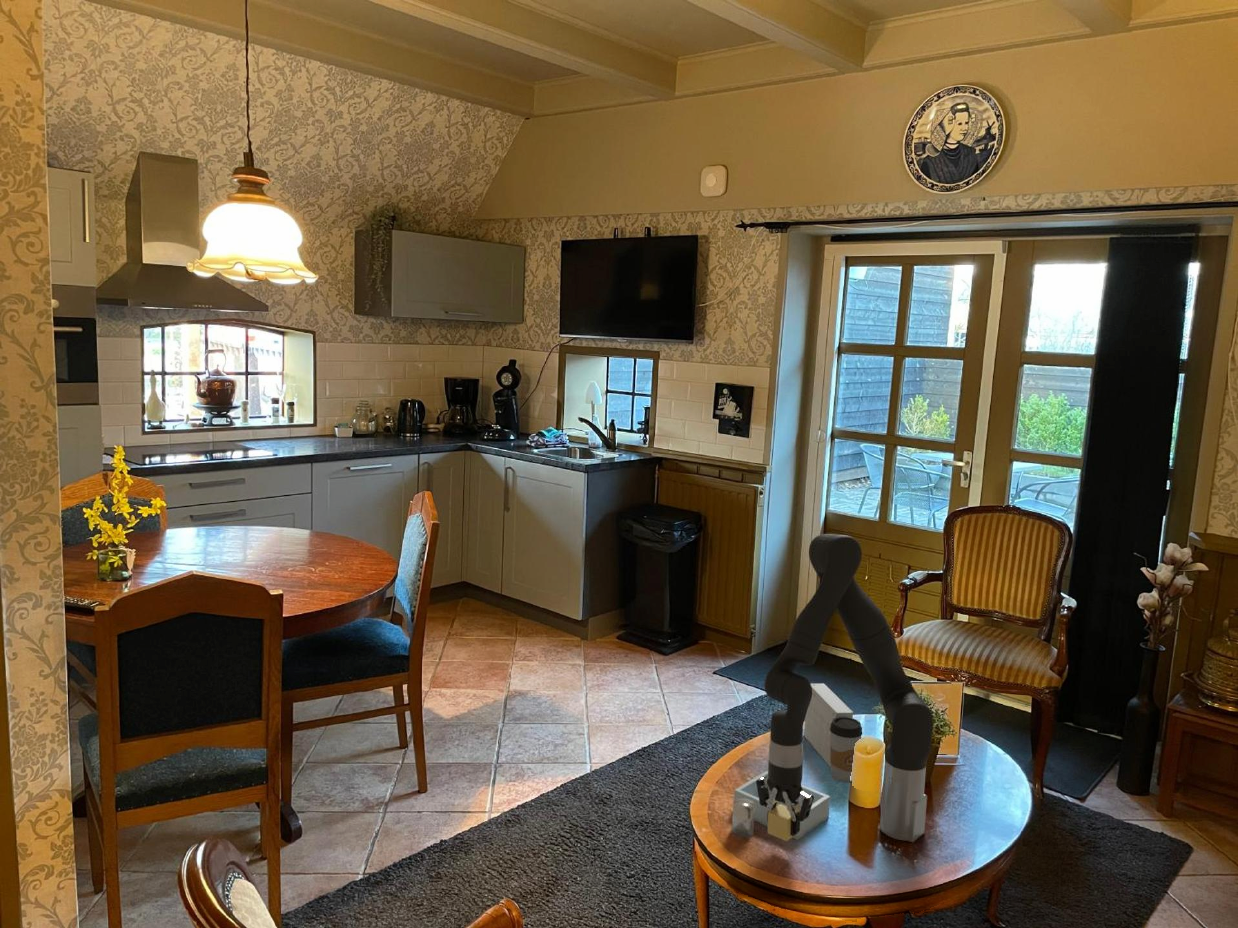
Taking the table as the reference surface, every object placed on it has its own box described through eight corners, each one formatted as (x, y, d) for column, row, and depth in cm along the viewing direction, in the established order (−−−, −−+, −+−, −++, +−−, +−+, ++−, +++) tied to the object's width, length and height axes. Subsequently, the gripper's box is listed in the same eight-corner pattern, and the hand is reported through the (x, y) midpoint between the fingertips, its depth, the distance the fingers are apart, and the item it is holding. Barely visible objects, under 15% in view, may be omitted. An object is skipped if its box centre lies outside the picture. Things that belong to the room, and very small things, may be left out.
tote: (828, 817, 224) (830, 796, 223) (797, 839, 214) (798, 817, 213) (766, 790, 236) (767, 770, 235) (733, 810, 226) (734, 789, 225)
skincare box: (850, 768, 249) (854, 712, 247) (831, 769, 248) (834, 713, 246) (820, 734, 270) (824, 681, 267) (803, 734, 269) (806, 682, 266)
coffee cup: (835, 785, 239) (839, 730, 237) (821, 770, 247) (824, 717, 245) (865, 782, 241) (868, 728, 239) (849, 767, 249) (853, 714, 247)
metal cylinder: (757, 831, 217) (759, 803, 216) (745, 839, 213) (746, 811, 212) (740, 823, 220) (741, 795, 219) (727, 831, 216) (728, 803, 215)
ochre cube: (798, 831, 209) (799, 811, 208) (786, 841, 205) (787, 819, 204) (779, 824, 212) (780, 803, 211) (767, 832, 208) (768, 811, 208)
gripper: (822, 762, 204) (819, 834, 207) (767, 743, 213) (765, 812, 216) (805, 774, 198) (802, 848, 201) (749, 754, 208) (747, 824, 210)
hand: (783, 829), depth 208 cm, fingers closed on ochre cube, 5 cm apart
